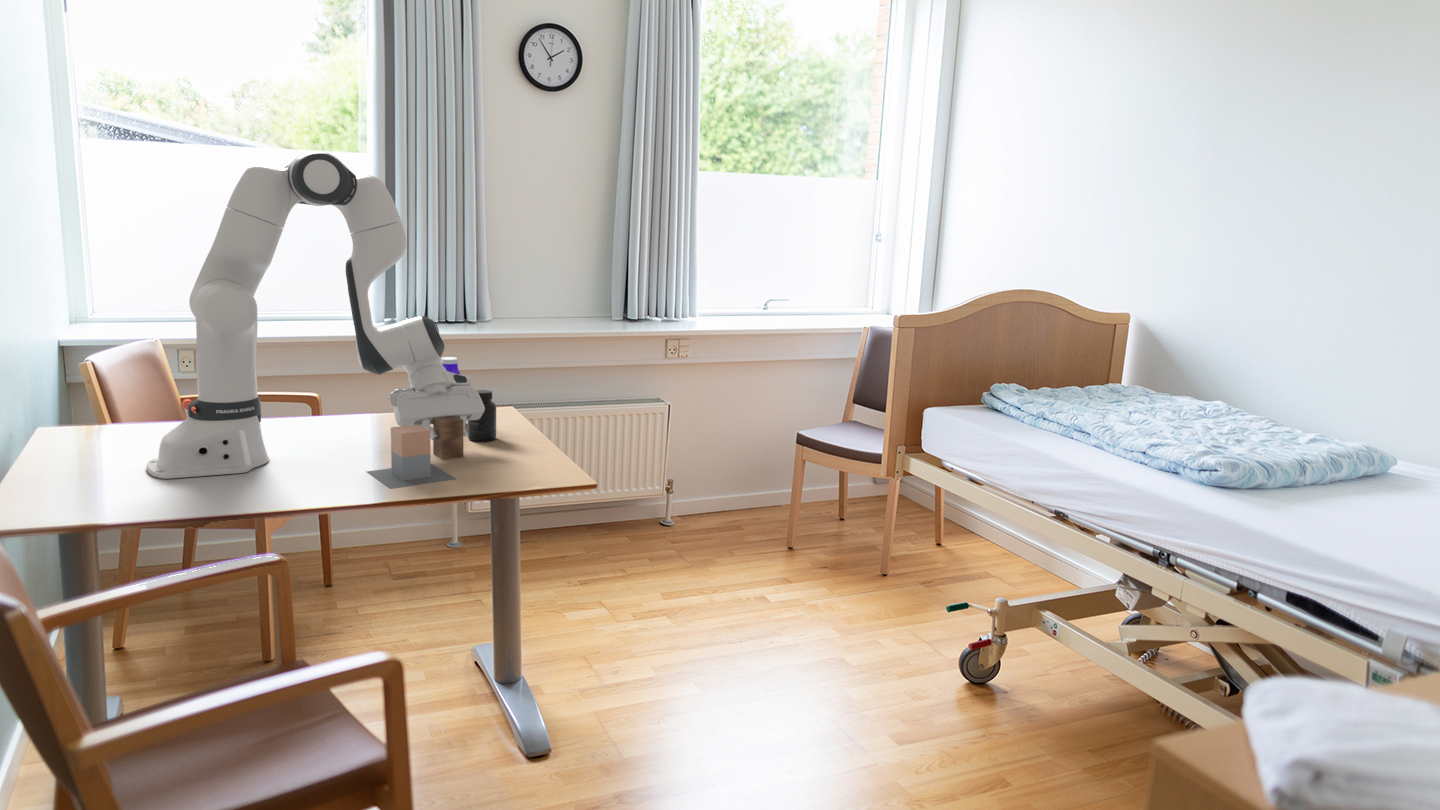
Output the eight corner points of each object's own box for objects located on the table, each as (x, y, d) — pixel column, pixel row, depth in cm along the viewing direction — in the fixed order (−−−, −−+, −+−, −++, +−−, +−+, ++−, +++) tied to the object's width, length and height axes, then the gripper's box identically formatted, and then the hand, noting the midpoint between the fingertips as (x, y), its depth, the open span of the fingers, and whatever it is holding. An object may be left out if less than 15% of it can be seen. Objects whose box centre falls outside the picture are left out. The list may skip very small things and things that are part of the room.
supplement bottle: (501, 439, 227) (502, 392, 224) (477, 443, 222) (477, 395, 220) (486, 434, 231) (486, 387, 229) (462, 438, 226) (462, 390, 224)
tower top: (402, 457, 187) (401, 433, 186) (391, 450, 192) (390, 427, 191) (430, 453, 191) (430, 430, 190) (419, 447, 195) (418, 424, 194)
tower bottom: (402, 480, 188) (402, 457, 187) (391, 473, 193) (391, 450, 192) (430, 476, 192) (430, 453, 191) (419, 469, 196) (419, 447, 195)
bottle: (456, 426, 237) (456, 360, 234) (434, 425, 237) (434, 359, 234) (464, 420, 244) (464, 356, 241) (443, 419, 244) (443, 355, 241)
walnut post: (442, 461, 205) (442, 422, 204) (433, 456, 209) (433, 417, 207) (463, 458, 209) (463, 419, 207) (454, 453, 212) (454, 415, 210)
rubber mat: (390, 490, 183) (390, 488, 183) (365, 473, 193) (365, 471, 193) (456, 480, 192) (456, 478, 192) (430, 464, 202) (430, 463, 202)
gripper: (390, 382, 204) (408, 434, 199) (476, 376, 217) (494, 424, 212) (383, 398, 208) (400, 449, 203) (468, 391, 221) (486, 439, 216)
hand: (449, 436), depth 207 cm, fingers closed on walnut post, 5 cm apart
